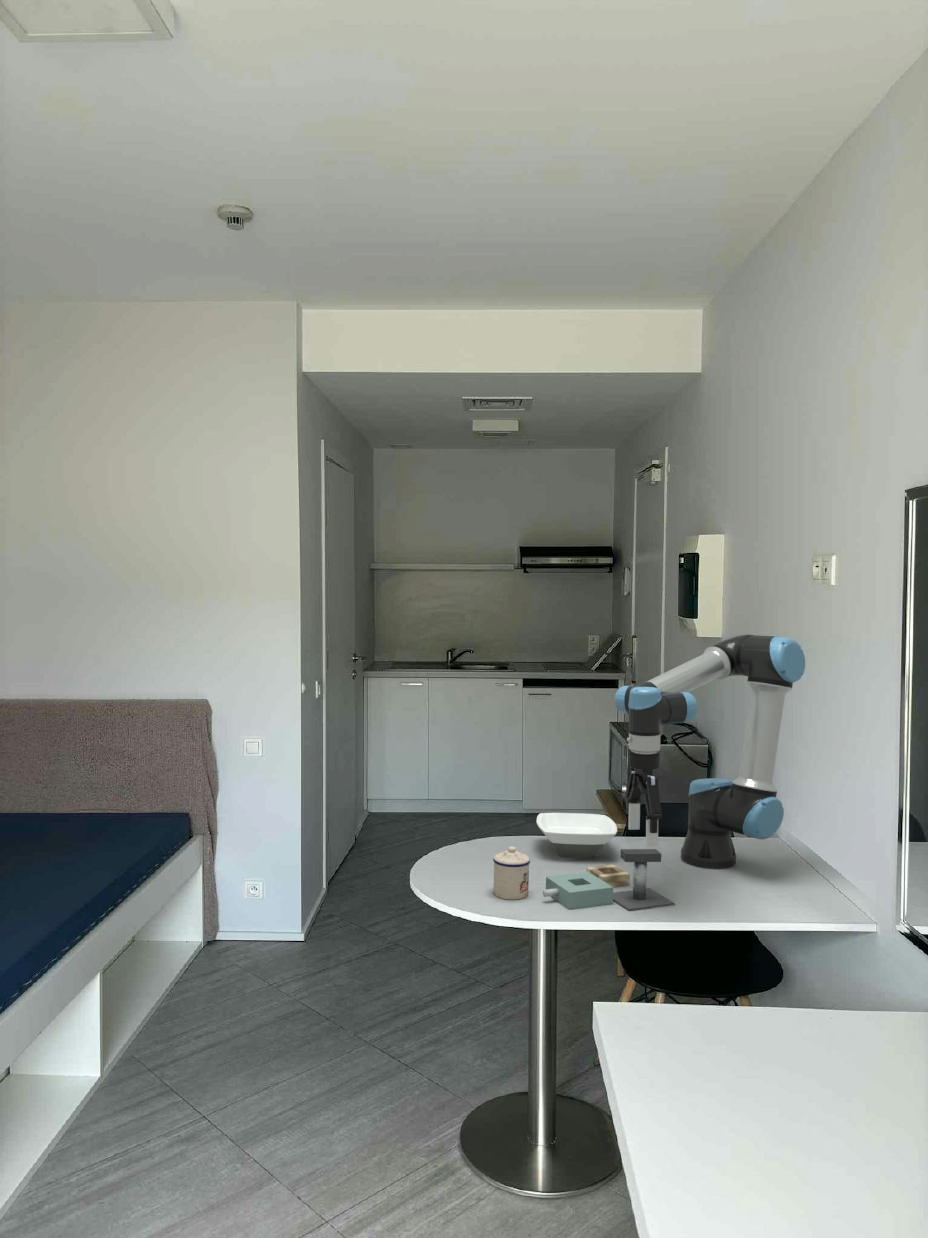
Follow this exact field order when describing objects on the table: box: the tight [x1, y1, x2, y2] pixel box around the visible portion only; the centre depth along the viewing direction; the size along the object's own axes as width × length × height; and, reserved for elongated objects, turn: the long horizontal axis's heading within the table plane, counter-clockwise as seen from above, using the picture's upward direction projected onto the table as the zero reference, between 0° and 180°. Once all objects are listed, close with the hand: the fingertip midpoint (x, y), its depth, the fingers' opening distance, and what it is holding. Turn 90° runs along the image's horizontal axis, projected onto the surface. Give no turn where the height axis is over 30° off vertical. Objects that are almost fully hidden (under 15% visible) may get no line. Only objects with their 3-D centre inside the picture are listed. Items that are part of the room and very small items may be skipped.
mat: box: [613, 887, 676, 912], centre depth 217 cm, size 13×11×1 cm
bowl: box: [536, 812, 618, 858], centre depth 255 cm, size 22×23×8 cm
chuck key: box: [619, 848, 662, 900], centre depth 217 cm, size 4×9×12 cm, turn 97°
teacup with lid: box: [492, 846, 531, 901], centre depth 220 cm, size 12×9×12 cm
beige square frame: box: [586, 864, 631, 888], centre depth 230 cm, size 8×8×3 cm
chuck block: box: [542, 871, 614, 910], centre depth 217 cm, size 16×12×4 cm
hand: (642, 837), depth 217 cm, fingers open, 13 cm apart
